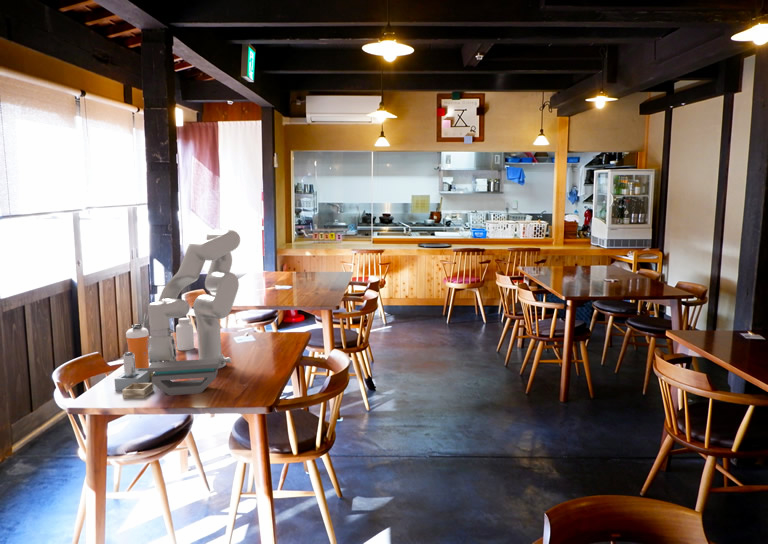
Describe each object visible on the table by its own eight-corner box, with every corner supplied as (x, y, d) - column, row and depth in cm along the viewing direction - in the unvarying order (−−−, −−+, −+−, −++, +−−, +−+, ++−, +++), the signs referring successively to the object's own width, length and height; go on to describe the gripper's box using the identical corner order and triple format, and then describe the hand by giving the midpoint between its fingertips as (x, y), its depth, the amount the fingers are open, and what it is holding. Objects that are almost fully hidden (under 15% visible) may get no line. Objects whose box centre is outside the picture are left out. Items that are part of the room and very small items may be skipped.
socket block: (153, 378, 239) (152, 368, 239) (138, 390, 226) (137, 378, 225) (131, 378, 240) (131, 368, 239) (115, 390, 226) (114, 379, 225)
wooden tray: (153, 390, 225) (152, 382, 224) (144, 397, 217) (143, 389, 217) (132, 390, 225) (132, 383, 225) (122, 397, 217) (122, 389, 217)
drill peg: (138, 385, 231) (136, 351, 229) (134, 388, 227) (131, 354, 226) (128, 385, 231) (125, 351, 230) (123, 388, 227) (121, 354, 226)
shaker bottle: (129, 376, 244) (126, 328, 241) (127, 370, 252) (124, 324, 249) (152, 372, 248) (149, 326, 245) (150, 367, 256) (147, 322, 253)
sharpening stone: (149, 396, 218) (147, 368, 217) (154, 390, 226) (152, 362, 224) (219, 391, 222) (217, 363, 221) (221, 385, 230) (219, 358, 229)
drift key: (159, 378, 239) (159, 371, 239) (156, 381, 236) (155, 374, 235) (141, 378, 239) (141, 371, 239) (137, 381, 236) (137, 374, 235)
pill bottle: (197, 348, 287) (196, 317, 285) (184, 351, 281) (182, 321, 279) (187, 346, 292) (185, 316, 290) (173, 349, 285) (171, 319, 283)
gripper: (182, 329, 239) (185, 373, 241) (145, 330, 239) (149, 374, 242) (175, 334, 231) (178, 379, 234) (137, 335, 232) (141, 380, 234)
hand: (164, 376), depth 238 cm, fingers closed
